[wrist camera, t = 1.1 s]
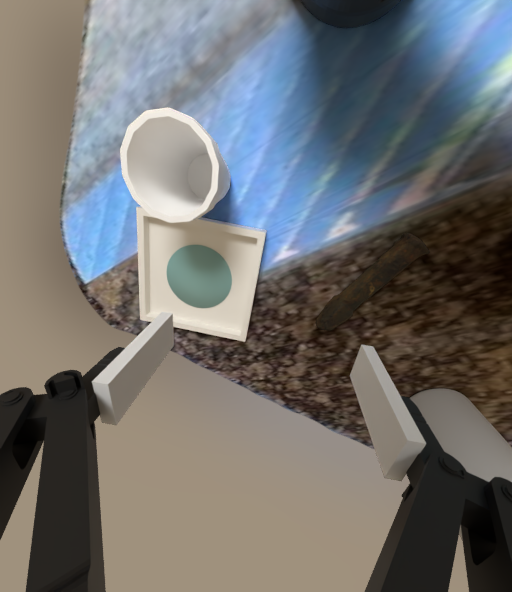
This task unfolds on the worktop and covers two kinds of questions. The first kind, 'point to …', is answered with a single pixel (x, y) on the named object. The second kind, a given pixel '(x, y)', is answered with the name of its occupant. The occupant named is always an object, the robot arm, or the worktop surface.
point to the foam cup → (173, 166)
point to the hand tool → (371, 281)
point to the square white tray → (199, 273)
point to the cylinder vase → (465, 433)
